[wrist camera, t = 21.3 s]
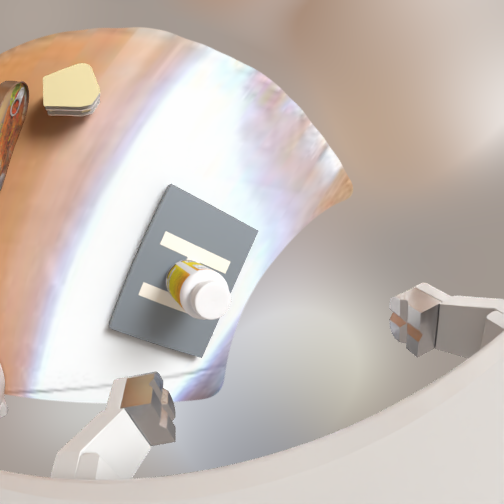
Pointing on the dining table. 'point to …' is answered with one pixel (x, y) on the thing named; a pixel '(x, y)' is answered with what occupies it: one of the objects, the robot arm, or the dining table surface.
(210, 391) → the dining table surface
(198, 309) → the supplement bottle
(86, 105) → the pale yellow block
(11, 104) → the tin
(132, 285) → the gray board
